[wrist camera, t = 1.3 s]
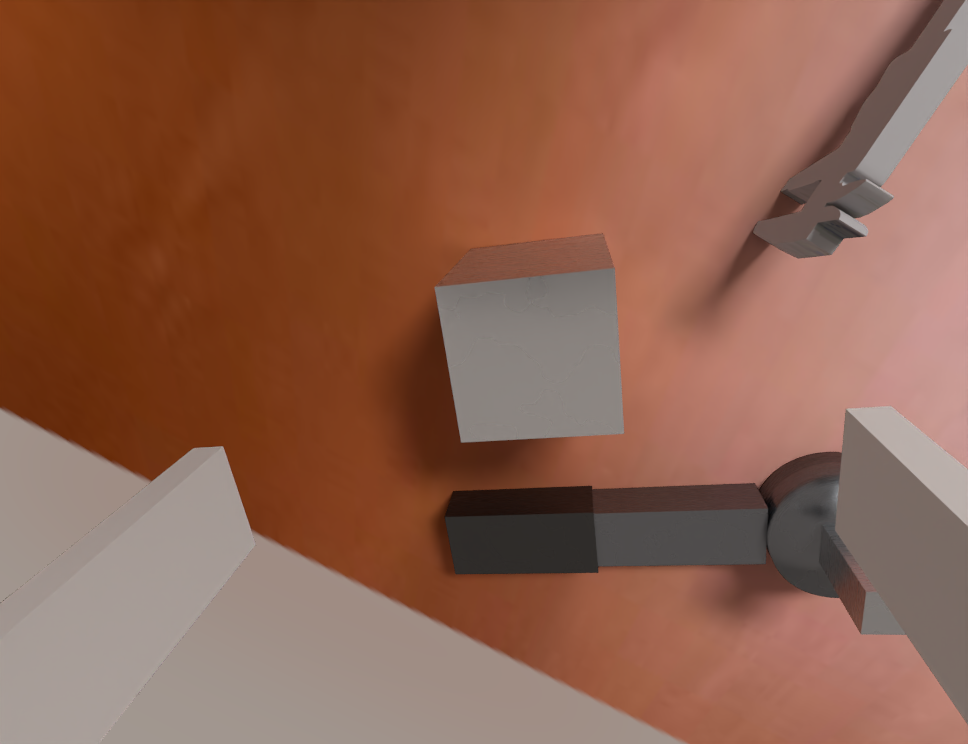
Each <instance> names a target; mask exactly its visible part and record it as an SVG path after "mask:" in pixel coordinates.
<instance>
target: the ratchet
mask: <svg viewBox="0 0 968 744" xmlns="http://www.w3.org/2000/svg"><path fill="white" fill-rule="evenodd" d="M841 457H842V453H840V452H822V453H815V454H810V455H806V456H803V457H800V458H797V459H795V460H793V461H790V462H789V463H787V464H785V465H783V466H782V467H780V468H779V469H778V470H776V471H775V472H774V473H773V474H772V475H771V476H770V477H769V478H768V479H767V480H766V481H765V482H764V484H763V485H762V487H761V488H760V490H758V488H757V486H756V485H755V483H750V484H723V485H697V486H670V487H643V488H617V489H592V486H577V487H551V488H525V489H499V490H474V491H453V494H452V497H451V500H450V503H449V506H448V509H447V512H446V515H445V522H446V527H447V532H448V537H449V542H450V548H451V553H452V558H453V563H454V568H455V574H516V573H598V566H659V565H734V564H766V547H767V550H768V552H769V554H770V556H771V558H772V560H773V562H774V564H775V566H776V568H777V569H778V571H779V572H780V574H781V575H782V576H783V577H784V578H785V579H786V580H787V581H788V582H790V583H791V584H793V585H794V586H796V587H797V588H799V589H801V590H803V591H806V592H808V593H811V594H814V595H819V596H824V597H831V598H840V599H841V601H842V603H843V605H844V606H845V608H846V610H847V611H848V613H849V615H850V617H851V618H852V620H853V622H854V623H855V625H856V627H857V629H858V630H859V632H860V634H886V635H906V633H905V632H904V630H903V629H902V628H901V626H900V625H899V623H898V622H897V620H896V619H895V617H894V616H893V614H892V613H891V611H890V610H889V608H888V607H887V606H886V604H885V603H884V601H883V600H882V598H881V597H880V595H879V594H878V592H877V591H876V589H875V588H874V587H873V585H872V584H871V582H870V581H869V579H868V578H867V576H866V575H865V573H864V572H863V570H862V569H861V567H860V566H859V565H858V563H857V562H856V560H855V559H854V557H853V556H852V554H851V553H850V551H849V550H848V548H847V547H846V545H845V544H844V543H843V541H842V540H841V538H840V537H839V535H838V534H837V532H836V531H835V524H836V512H837V501H838V490H839V479H840V468H841Z"/></svg>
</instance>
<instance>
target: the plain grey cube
mask: <svg viewBox="0 0 968 744" xmlns="http://www.w3.org/2000/svg"><path fill="white" fill-rule="evenodd" d="M435 292H436V298H437V304H438V310H439V316H440V322H441V327H442V333H443V339H444V345H445V351H446V357H447V362H448V368H449V374H450V380H451V386H452V392H453V398H454V403H455V409H456V415H457V421H458V427H459V433H460V439H461V443H462V442H481V441H499V440H518V439H536V438H554V437H573V436H591V435H610V434H624V423H623V406H622V388H621V370H620V353H619V335H618V318H617V300H616V283H615V267H614V264H613V261H612V258H611V255H610V252H609V249H608V246H607V243H606V240H605V237H604V234H603V233H602V234H594V235H585V236H577V237H568V238H560V239H551V240H543V241H534V242H526V243H517V244H509V245H500V246H492V247H483V248H475V249H470V250H469V251H468V252H467V253H466V254H465V255H464V257H463V258H462V259H461V260H460V261H459V262H458V263H457V264H456V265H455V266H454V267H453V268H452V269H451V270H450V271H449V272H448V273H447V275H446V276H445V277H444V278H443V279H442V280H441V281H440V282H439V283H438V284H437V285H436V286H435Z"/></svg>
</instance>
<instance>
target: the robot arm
mask: <svg viewBox="0 0 968 744" xmlns="http://www.w3.org/2000/svg"><path fill="white" fill-rule="evenodd" d="M835 531H836V532H837V534H838V535H839V537H840V538H841V540H842V541H843V543H844V544H845V545H846V547H847V548H848V550H849V551H850V553H851V554H852V556H853V557H854V559H855V560H856V562H857V563H858V565H859V566H860V567H861V569H862V570H863V572H864V573H865V575H866V576H867V578H868V579H869V581H870V582H871V584H872V585H873V587H874V588H875V589H876V591H877V592H878V594H879V595H880V597H881V598H882V600H883V601H884V603H885V604H886V606H887V607H888V608H889V610H890V611H891V613H892V614H893V616H894V617H895V619H896V620H897V622H898V623H899V625H900V626H901V628H902V629H903V630H904V632H905V633H906V635H907V636H908V638H909V639H910V641H911V642H912V644H913V645H914V647H915V648H916V650H917V651H918V652H919V654H920V655H921V657H922V658H923V660H924V661H925V663H926V664H927V666H928V667H929V669H930V670H931V671H932V673H933V674H934V676H935V677H936V679H937V680H938V682H939V683H940V685H941V686H942V688H943V689H944V691H945V692H946V693H947V695H948V696H949V698H950V699H951V701H952V702H953V704H954V705H955V707H956V708H957V710H958V711H959V713H960V714H961V715H962V717H963V718H964V720H965V721H966V723H967V724H968V469H967V468H966V467H964V466H963V465H962V464H961V463H960V462H958V461H957V460H956V459H955V458H953V457H952V456H951V455H950V454H949V453H947V452H946V451H945V450H944V449H942V448H941V447H940V446H939V445H938V444H936V443H935V442H934V441H933V440H932V439H930V438H929V437H928V436H927V435H925V434H924V433H923V432H922V431H921V430H919V429H918V428H917V427H916V426H914V425H913V424H912V423H911V422H910V421H908V420H907V419H906V418H905V417H903V416H902V415H901V414H900V413H899V412H897V411H896V410H895V409H894V408H892V407H891V406H884V407H867V408H850V409H846V413H845V424H844V435H843V446H842V457H841V468H840V479H839V490H838V501H837V512H836V524H835ZM255 545H256V543H255V540H254V537H253V534H252V531H251V528H250V525H249V522H248V519H247V516H246V513H245V510H244V507H243V504H242V501H241V498H240V495H239V493H238V490H237V487H236V484H235V481H234V478H233V475H232V472H231V469H230V466H229V463H228V460H227V457H226V454H225V451H224V448H223V446H220V447H204V448H193V449H192V450H191V451H189V452H188V453H187V454H186V455H184V456H183V457H182V458H181V459H179V460H178V461H177V462H176V463H174V464H173V465H172V466H171V467H169V468H168V469H167V470H166V471H164V472H163V473H162V474H161V475H159V476H158V477H157V478H156V479H154V480H153V481H152V482H151V483H149V484H148V485H147V486H146V487H144V488H143V489H142V490H141V491H139V492H138V493H137V494H136V495H135V496H133V497H132V498H131V499H130V500H128V501H127V502H126V503H125V504H123V505H122V506H121V507H120V508H118V509H117V510H116V511H115V512H113V513H112V514H111V515H110V516H108V517H107V518H106V519H105V520H103V521H102V522H101V523H100V524H98V525H97V526H96V527H95V528H93V529H92V530H91V531H90V532H88V533H87V534H86V535H85V536H83V537H82V538H81V539H80V540H78V541H77V542H76V543H75V544H74V545H72V546H71V547H70V548H69V549H67V550H66V551H65V552H63V553H62V554H61V555H60V556H59V557H57V558H56V559H55V560H53V561H52V562H51V563H50V564H48V565H47V566H46V567H45V568H44V569H42V570H41V571H40V572H39V573H37V574H36V575H35V576H34V577H32V578H31V579H30V580H29V581H27V582H26V583H25V584H24V585H22V586H21V587H20V588H19V589H17V590H16V591H15V592H14V593H12V594H11V595H10V596H8V597H7V598H6V599H5V600H3V601H2V602H1V603H0V744H99V743H100V742H101V740H102V739H103V738H104V736H105V735H106V734H107V733H108V732H109V730H110V729H111V728H112V726H113V725H114V724H115V723H116V721H117V720H118V719H119V718H120V716H121V715H122V714H123V712H124V711H125V710H126V709H127V707H128V706H129V705H130V704H131V702H132V701H133V700H134V699H135V697H136V696H137V695H138V694H139V692H140V691H141V690H142V688H143V687H144V686H145V685H146V683H147V682H148V681H149V680H150V678H151V677H152V676H153V675H154V673H155V672H156V671H157V669H158V668H159V667H160V666H161V664H162V663H163V662H164V661H165V659H166V658H167V657H168V656H169V654H170V653H171V652H172V650H173V649H174V648H175V647H176V645H177V644H178V643H179V642H180V640H181V639H182V638H183V637H184V635H185V634H186V633H187V631H188V630H189V629H190V628H191V626H192V625H193V624H194V623H195V621H196V620H197V619H198V618H199V616H200V615H201V614H202V612H203V611H204V610H205V609H206V607H207V606H208V605H209V604H210V602H211V601H212V600H213V599H214V597H215V596H216V595H217V593H218V592H219V591H220V590H221V588H222V587H223V586H224V585H225V583H226V582H227V581H228V580H229V578H230V577H231V576H232V574H233V573H234V572H235V571H236V569H237V568H238V567H239V566H240V564H241V563H242V562H243V560H244V559H245V558H246V557H247V555H248V554H249V553H250V552H251V550H252V549H253V548H254V547H255Z"/></svg>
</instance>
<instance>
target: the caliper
mask: <svg viewBox="0 0 968 744" xmlns="http://www.w3.org/2000/svg"><path fill="white" fill-rule="evenodd" d="M967 65H968V0H944V1H943V2H942V4H941V5H940V7H939V8H938V10H937V11H936V13H935V14H934V15H933V17H932V18H931V20H930V21H929V23H928V24H927V26H926V27H925V29H924V30H923V32H922V33H921V35H920V36H919V37H918V39H917V40H916V42H915V43H914V45H913V46H912V48H911V49H910V50H909V51H907V52H905V53H903V54H902V55H900V56H898V57H896V58H895V59H894V60H893V61H892V62H891V63H890V64H889V66H888V67H887V69H886V71H885V72H884V74H883V76H882V78H881V80H880V82H879V83H878V85H877V86H876V88H875V89H874V90H873V92H872V93H871V94H870V95H869V97H868V98H867V99H866V100H865V102H864V103H863V105H862V107H861V109H860V111H859V112H858V114H857V116H856V118H855V120H854V122H853V124H852V126H851V128H852V129H851V131H850V132H849V134H848V135H847V137H846V138H845V139H844V141H843V142H842V144H841V145H840V147H839V148H838V149H836V150H835V151H833V152H831V153H830V154H828V155H827V156H825V157H823V158H822V159H820V160H819V161H817V162H816V163H814V164H812V165H811V166H809V167H808V168H806V169H805V170H803V171H801V172H800V173H798V174H797V175H795V176H793V177H792V178H790V179H789V181H788V182H787V183H786V185H785V186H784V187H783V189H782V190H781V191H780V192H782V193H784V194H785V195H787V196H789V197H790V198H792V199H793V200H795V201H797V202H798V203H800V204H805V203H806V204H805V206H804V207H803V209H802V211H800V212H796V213H792V214H788V215H784V216H780V217H776V218H772V219H768V220H762V221H758V222H757V224H756V226H755V228H754V231H753V233H754V234H755V235H757V236H758V237H760V238H762V239H763V240H765V241H767V242H768V243H770V244H771V245H773V246H775V247H776V248H778V249H780V250H782V251H784V252H786V253H788V254H790V255H792V256H794V257H796V258H808V257H816V256H825V255H832V254H833V252H834V251H835V250H836V248H837V247H838V246H839V244H840V243H841V242H842V240H843V239H844V238H854V237H864V236H867V233H868V230H867V227H866V226H865V225H864V224H862V223H861V222H859V221H857V220H856V219H854V218H859V217H862V216H865V215H867V214H869V213H871V212H873V211H875V210H876V209H878V208H880V207H881V206H883V205H885V204H886V203H888V202H889V201H890V200H892V199H893V198H894V196H893V195H892V194H890V193H888V192H887V191H885V190H884V189H882V188H880V187H881V186H882V185H883V184H884V183H885V181H886V180H887V179H888V177H889V176H890V175H891V173H892V172H893V170H894V169H895V167H896V166H897V165H898V163H899V162H900V160H901V159H902V157H903V156H904V155H905V153H906V152H907V150H908V149H909V147H910V146H911V145H912V143H913V142H914V140H915V139H916V137H917V136H918V135H919V133H920V132H921V130H922V129H923V127H924V126H925V125H926V123H927V122H928V120H929V119H930V117H931V116H932V115H933V113H934V112H935V110H936V109H937V107H938V106H939V105H940V103H941V102H942V100H943V99H944V97H945V96H946V95H947V93H948V92H949V90H950V89H951V87H952V86H953V85H954V83H955V82H956V80H957V79H958V77H959V76H960V75H961V73H962V72H963V70H964V69H965V67H966V66H967Z"/></svg>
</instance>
